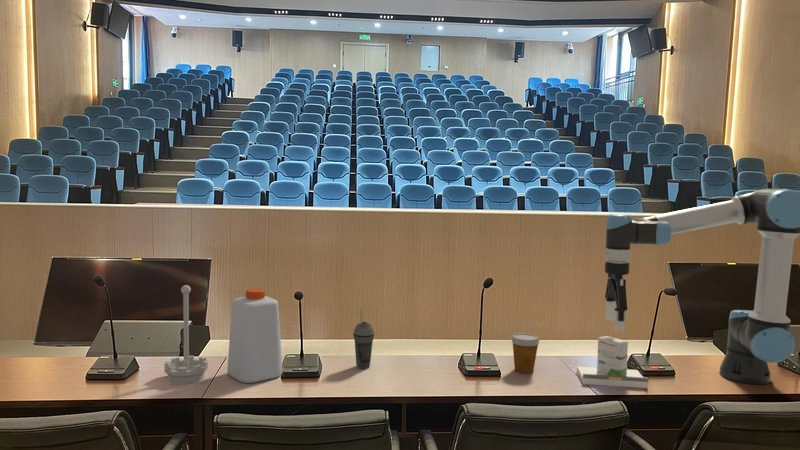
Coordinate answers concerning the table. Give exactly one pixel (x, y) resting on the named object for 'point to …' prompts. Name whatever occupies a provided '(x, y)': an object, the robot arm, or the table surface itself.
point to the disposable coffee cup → (524, 351)
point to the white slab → (611, 378)
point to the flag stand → (186, 355)
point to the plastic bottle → (254, 338)
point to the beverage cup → (363, 343)
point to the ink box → (612, 356)
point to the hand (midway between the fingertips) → (614, 325)
